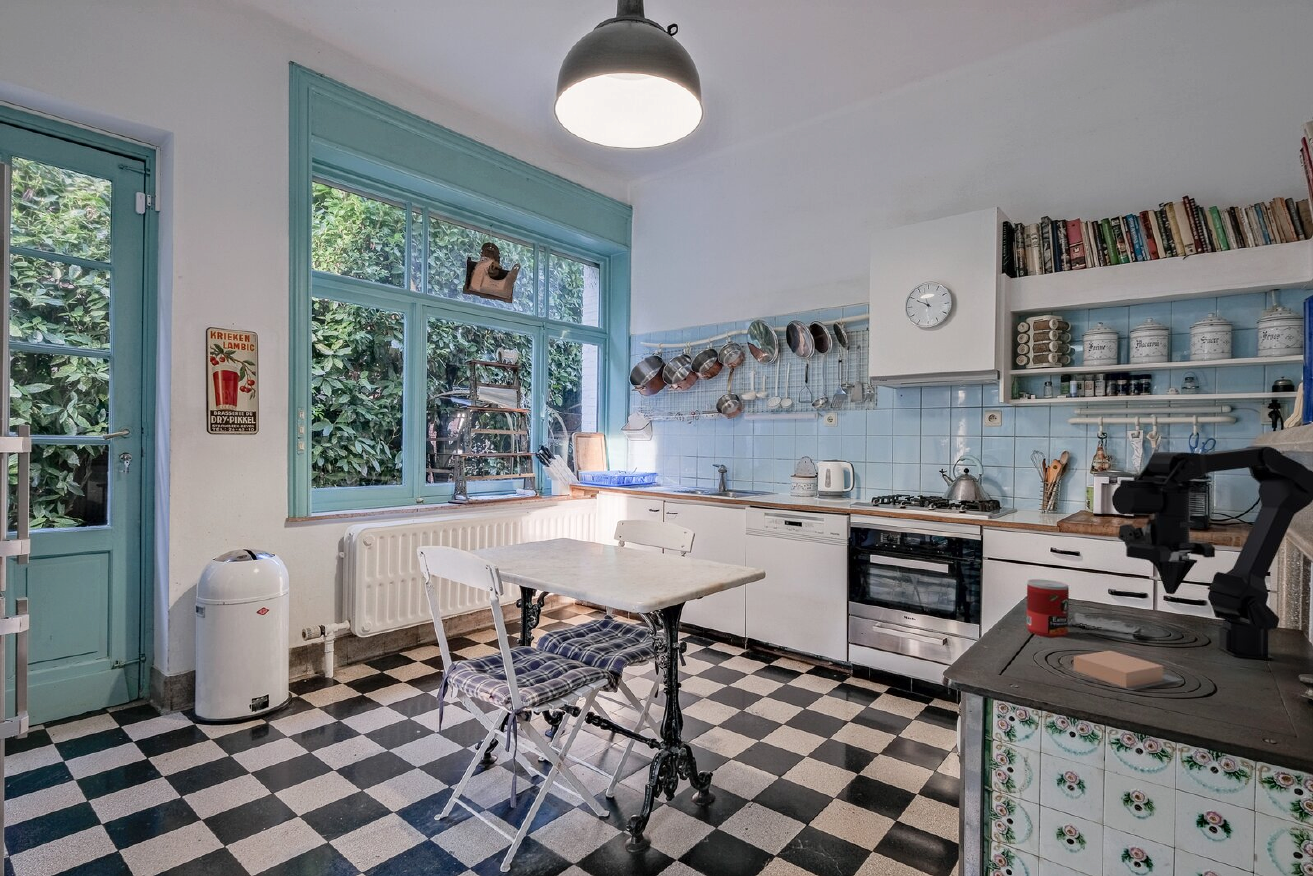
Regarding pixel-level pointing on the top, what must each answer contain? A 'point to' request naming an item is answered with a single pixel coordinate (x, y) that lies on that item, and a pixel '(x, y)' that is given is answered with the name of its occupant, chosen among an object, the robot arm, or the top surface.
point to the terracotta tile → (1118, 668)
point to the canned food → (1047, 608)
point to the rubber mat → (1165, 680)
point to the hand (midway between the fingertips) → (1170, 593)
